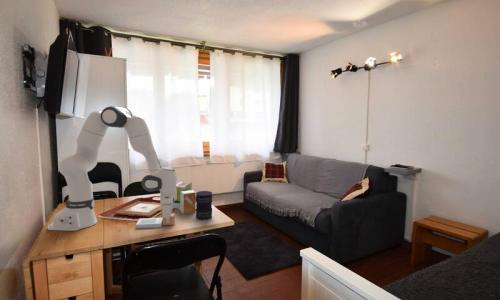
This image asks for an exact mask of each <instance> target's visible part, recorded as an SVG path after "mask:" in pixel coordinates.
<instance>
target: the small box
mask: <svg viewBox="0 0 500 300" xmlns="http://www.w3.org/2000/svg"><path fill="white" fill-rule="evenodd" d="M179 211H180V213H182V214H183V215H185V214H190V213H196V191H195V190H193V189H192V190H189V191H182V192H180V208H179Z"/></svg>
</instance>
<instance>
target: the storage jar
mask: <svg viewBox="0 0 500 300" xmlns="http://www.w3.org/2000/svg"><path fill="white" fill-rule="evenodd" d="M195 192H196V191H195ZM212 204H213V192H212V191H209V190H200V191H197V192H196V212H195V219H196V220H199V221H208V220H211V219H212V218H213V207H212V206H213V205H212Z"/></svg>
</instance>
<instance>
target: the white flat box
mask: <svg viewBox="0 0 500 300" xmlns="http://www.w3.org/2000/svg"><path fill="white" fill-rule="evenodd" d="M162 226H163V217H149V218H148V217H147V218H144V217H143V218H139V219H138V221H137V222H136V224H135V229H149V228H151V229H152V228H162Z"/></svg>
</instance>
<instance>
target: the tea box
mask: <svg viewBox="0 0 500 300" xmlns="http://www.w3.org/2000/svg"><path fill="white" fill-rule="evenodd" d="M176 189H177V199H176V200H175V201H174V207H173V209H180V192H182V191H189V190H193V187H192V181H191V182H190V181H177V184H176Z"/></svg>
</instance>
